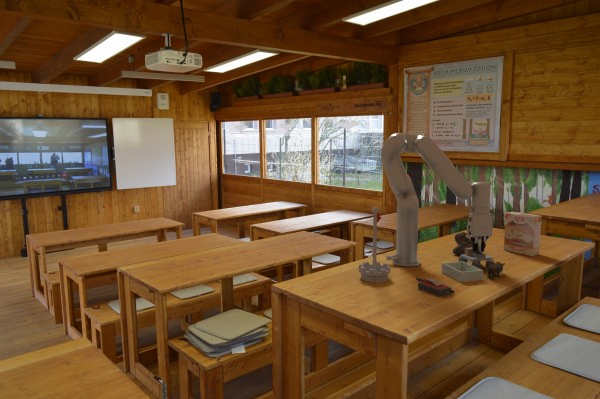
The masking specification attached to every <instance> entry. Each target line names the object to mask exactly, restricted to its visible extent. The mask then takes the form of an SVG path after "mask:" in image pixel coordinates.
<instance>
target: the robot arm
mask: <svg viewBox="0 0 600 399" xmlns="http://www.w3.org/2000/svg"><path fill="white" fill-rule="evenodd" d="M380 152H381V153H380V158H381V162H382V165H383V169H384V171H385V175H386V177H387V180H388V183H389V187H390V190H391V191H392V192H393V194H394V196H395V199H396V202H397V203H396V239H395V240H396V242H395V244H396V247H395V249H396V250H395V252H394V253H393V254H392V255H386V257H385V259H386V260H387V261H392V264H394V265H396V266H399V267H406V268H407V267H410V268H411V267H418V266H420V265H421V263H422V262H421V260H420V259H419V258H418V249H419V248H418V246H419V244H418V243H419V242H418V240H419V239H418V238H419V213H420V208H419V207H420V205H419V204H420V203H419V202H420V200H419V198H418V195H417V192H416V190H415V188H414V184H413V181H412V178H411V177H410V175H409V174H408V173H407V172H406V169H405V167H404V163H403V160H402V157H401V154H402V153H411V154H412V153H413V154H418V156H420V158H421V159H422V160H423V161H424V162H425V163H426V165H428V166H429V168H430V169H431V171H433V173H434V174H435V175H436V176H437V177H438V178H439V179H440V180H442V182H443V183H444V185H446V187H447V188H448V189H449V190H450V191H451V192H452V194H453V195H454V196H455V197H456V198H457V199H458V200H462V201H467V200H468V199H470V198H471V200H470V201H471V203H470V204H471V205H470V206H471V207H469V209H468V211H469V212H470V213H469V216H468V219H467V226H466V233H467V234H466V238H469V239H470V240H471V241H472V242H473V244H472V249H473V251H475V252H478V243H477V241H478V237H481V236H482V245H481V251H482V253H485V249H486V247H485V243H486V242H487V240H488V239H489V238H491V237H492V236H493V216H492V213H491V212H490V206H491V184H490V182H487V181H469V180H468V181H467V180H466V178H465V177H464V175H462V174H461V173H460V172H459V170H458V169H457V168H456V167H455V165H454V163H453V162H452V161H451V159H450V158H449V157H448V156H447V155H446V154H445V153H444V151H443V150H442V149H441V148H440V147H439V145H438V144H437V143H436V142H435V140H433V139H432V138H431V137H430V136H429V135H423V134H422V135H421V134H411V133H401V132H395V133H392V134H391V135H389V137H388V138H387V139H386V140H385V142H384V143H383V145H382V147H381V151H380ZM471 236H472V237H471ZM484 248H485V249H484Z"/></svg>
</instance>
